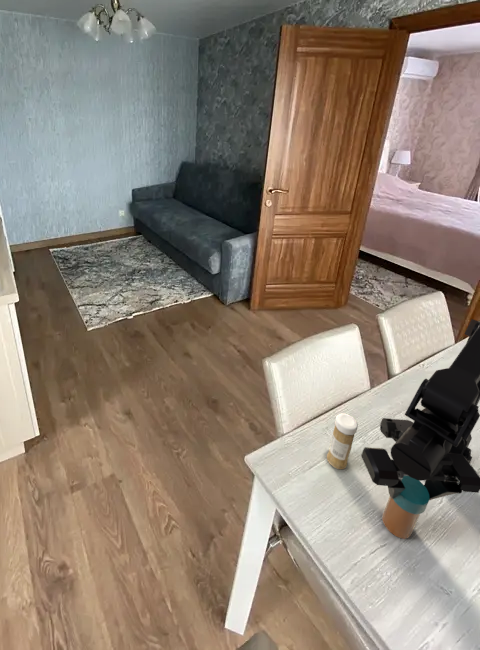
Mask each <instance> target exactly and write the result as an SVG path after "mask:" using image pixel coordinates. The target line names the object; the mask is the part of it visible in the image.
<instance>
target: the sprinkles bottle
mask: <svg viewBox="0 0 480 650" xmlns="http://www.w3.org/2000/svg"><path fill="white" fill-rule="evenodd" d="M358 424H359V423H358V421H357V419H356V418H355V417H354V416H352V415H351V414H348V413H344V412H342V413H338V414H337V415H336V417H335V421H334V428H333V431H332V435H331V438H330V439H331V440H330V442H329V449H328V452H327V454H326V460H327V462H328V463H329V464H330V466H332V467H333V468H335V469H337V470H344V469H346V468H347V465H348V460H349V458H350V454H351V450H352V446H353V442H354V438H355V435H356V433H357V431H358V426H359V425H358Z"/></svg>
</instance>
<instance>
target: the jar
mask: <svg viewBox="0 0 480 650" xmlns="http://www.w3.org/2000/svg"><path fill="white" fill-rule="evenodd" d="M420 515H421V514H412V513H409V512H407V511H405V510H403V509H402V508H401V507H399V506H398V505H397V504H396V503H395V501H394V500H393V499H392V498H391V497H390V495H389V497H388V499H387V501H386V505H385V507H384V509H383V512H382V517H381V518H382V522H383V525H384V526H385V528H386V530H388V532H389V533H391V535H393V536H395V537H396V538H399V539H404V540H405V539H409V538H411V536H412V533H413V532H414V529H415V526H416V524H417V522H418V520H419V517H420Z"/></svg>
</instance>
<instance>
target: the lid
mask: <svg viewBox="0 0 480 650" xmlns="http://www.w3.org/2000/svg"><path fill="white" fill-rule="evenodd" d="M401 481H402V483H403V484H404V486H405V490H403V491H402V492H401V493H400V494H399V495H398V496H397V497H396V498H394V499H393V500H394V501H395V503H396V504H397V505H398V506H399V507H401V508H402V509H403V510H405V511H407V512H409V513H412V514H420V515H421V514H424V513H425V511H426V509H427V507H428V504H429V502H430V500H429V499H430V496H429V493H428V490H427V489H426V487H425V486H424V484H423V483H422V481H421V480H416V479H413V478H411V477H409V476H403V479H402V480H401Z"/></svg>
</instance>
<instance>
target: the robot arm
mask: <svg viewBox="0 0 480 650" xmlns="http://www.w3.org/2000/svg"><path fill="white" fill-rule="evenodd" d="M464 335H465V336H467V337H468V339H467V341H466V343H465V345H464V346H463V348H462V349H461V350H460V351H459V352H458V354H457V356H456V357H455V359H454V360H453V362H452V363H451V365H450V366H449V367H447V368H441V369H437V370H435V372H433V374H432V375H431V376H430V378H428V379H427V378H424V379H423V381H421V383H420V385H419V387H418V389H417V390H416V392H415V394H414V396H413V398H412V399H411V402H410V403H409V405H408V407H407V409H406V411H405V412H404V416H406V417H407V418H409V420H408V419H400V418H399V419H398V418H388V417H382V419H381V421H380V423H379V430H380V432H381V433H382V434H383V436H384V437H385V438H387V439H393V441H394V442H395V443H394V444H393V445H392V446H391V448H390V455H389V453H388V451H387V449H386V448H382V447H381V448H379V447H366V446H364V448H363V450H362V452H361V456H360V457H361V459H362V461H363V463H364V466H365V468H366V470H367V472H368V474H369V476H370V479H371V482H372V483H374V484H375V485H376V486H381V487H387V490H388V494H389V496H390V497H391V498H392V499H394V498H396V497H397V496H398V495H399V494H400V493H401V492H402V491H403V490H405V486H404V484H403V483H402V481H401V480H402V479H403V476H409V477H411V478H413V479H416V480H419V481H420V482H422V481H425V482H424V484H423V485H424V486H425V487H426V489H427V490H428V493H429V496H430V499H429V501H432V500H436V499H440V498H443V497H447V496H452V495H457V494H462V492H463V493H475V494H478V493H480V475H479V474H478V473H477V471H476V470H475V468H474V467H473V466H472V464H471V463H472V460H473V457H472V449H471V448H469V445H470V443H471V441H472V439H473V436H472V434H471V433H472V432H473V430H474V428H475V426H476V424H477V422H478V421H479V419H480V412H479V408H480V406H479V405H478V404H479V402H480V321H479V320H476V319H473V318H471V319H470V322H469V323H468V325H467V328H466V329H465V331H464ZM419 403H420V406H421V407H423V409H419V408H416V407H417V405H418V404H419ZM410 419H411V420H412V421H411V420H410ZM390 456H391V457H390Z"/></svg>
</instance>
